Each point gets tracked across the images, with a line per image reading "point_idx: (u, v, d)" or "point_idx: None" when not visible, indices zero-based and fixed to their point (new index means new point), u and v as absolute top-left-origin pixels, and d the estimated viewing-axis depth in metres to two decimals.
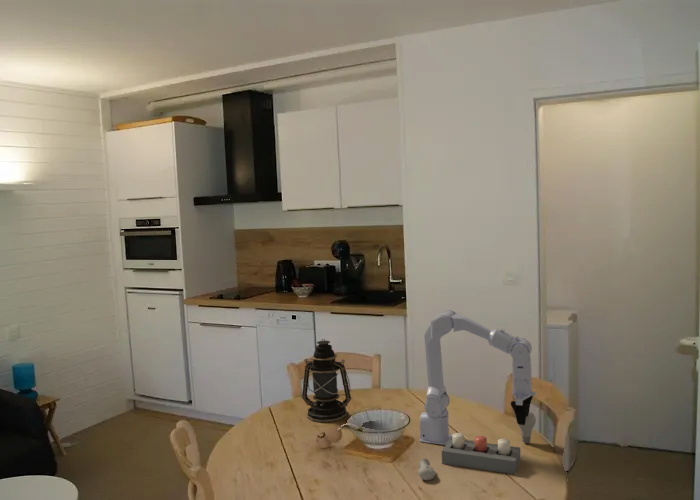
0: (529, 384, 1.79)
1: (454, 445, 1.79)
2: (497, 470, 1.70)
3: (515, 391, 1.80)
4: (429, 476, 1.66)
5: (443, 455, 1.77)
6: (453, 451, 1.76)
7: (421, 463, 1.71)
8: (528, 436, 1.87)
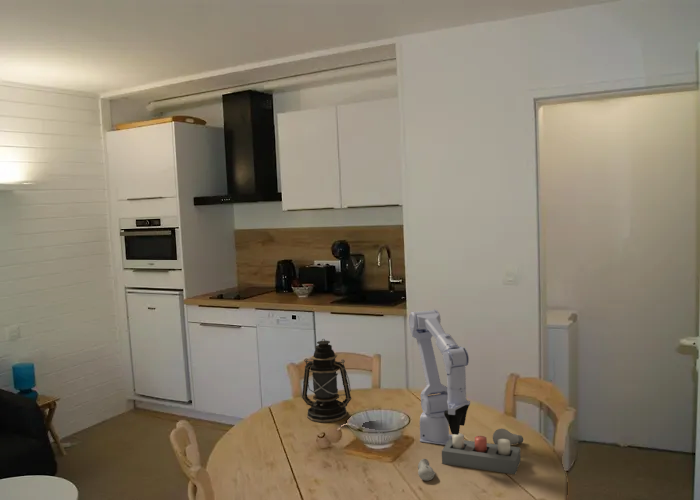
0: (463, 393, 1.76)
1: (454, 445, 1.79)
2: (497, 470, 1.70)
3: (449, 400, 1.77)
4: (428, 477, 1.66)
5: (443, 455, 1.77)
6: (453, 451, 1.76)
7: (421, 463, 1.71)
8: (518, 439, 1.87)
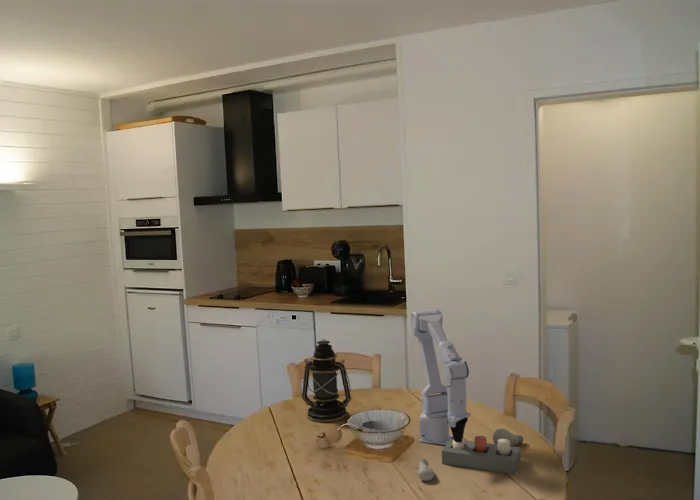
0: (463, 405, 1.76)
1: None
2: (497, 470, 1.70)
3: (449, 412, 1.78)
4: (428, 477, 1.66)
5: (443, 455, 1.77)
6: (453, 451, 1.76)
7: (420, 464, 1.71)
8: (518, 439, 1.87)
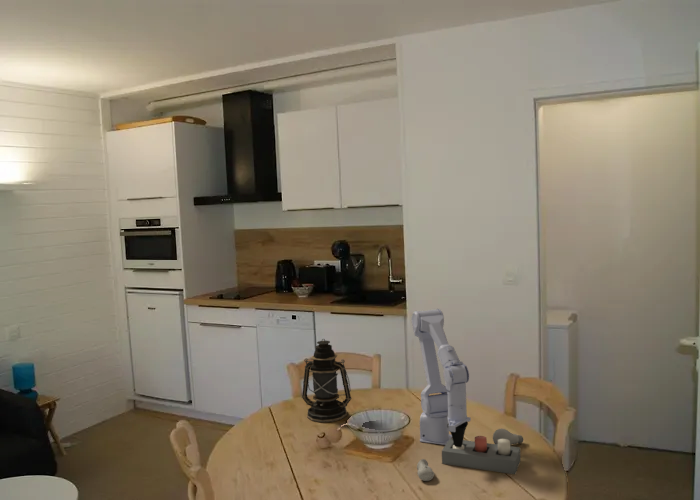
0: (463, 410, 1.76)
1: None
2: (497, 470, 1.70)
3: (450, 417, 1.78)
4: (428, 477, 1.65)
5: (443, 455, 1.77)
6: (453, 451, 1.76)
7: (420, 464, 1.71)
8: (518, 439, 1.87)
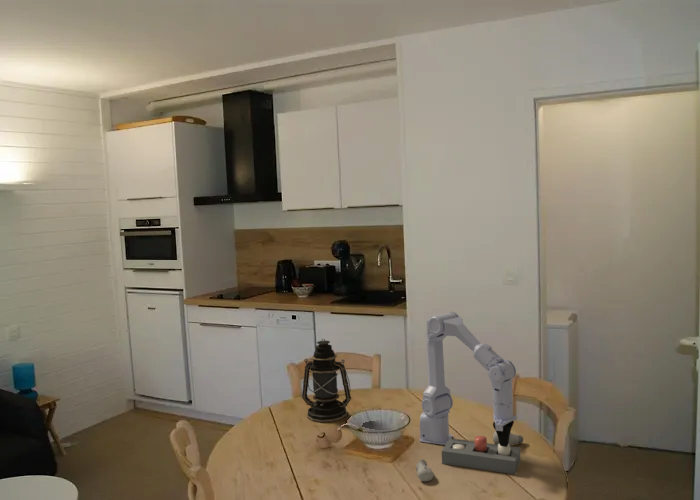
0: (510, 408, 1.70)
1: None
2: (497, 470, 1.70)
3: (495, 415, 1.72)
4: (428, 477, 1.65)
5: (443, 455, 1.77)
6: (453, 451, 1.76)
7: (419, 464, 1.71)
8: (518, 439, 1.87)
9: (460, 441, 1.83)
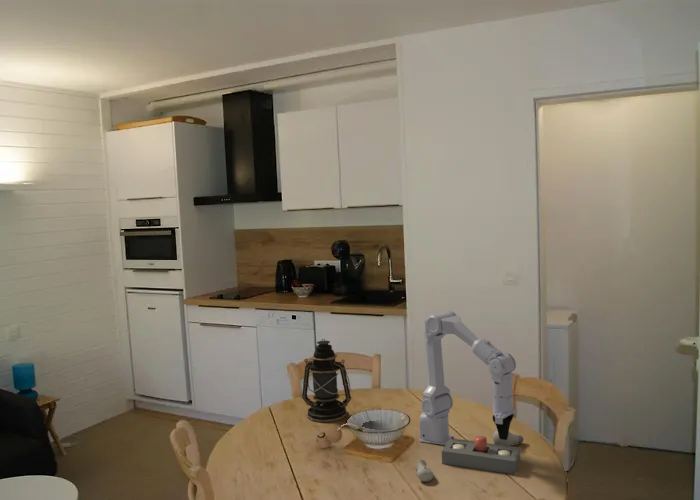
0: (510, 401, 1.70)
1: None
2: (497, 470, 1.70)
3: (495, 408, 1.72)
4: (428, 478, 1.65)
5: (443, 455, 1.77)
6: (453, 451, 1.76)
7: (418, 465, 1.70)
8: (518, 439, 1.87)
9: (460, 441, 1.83)
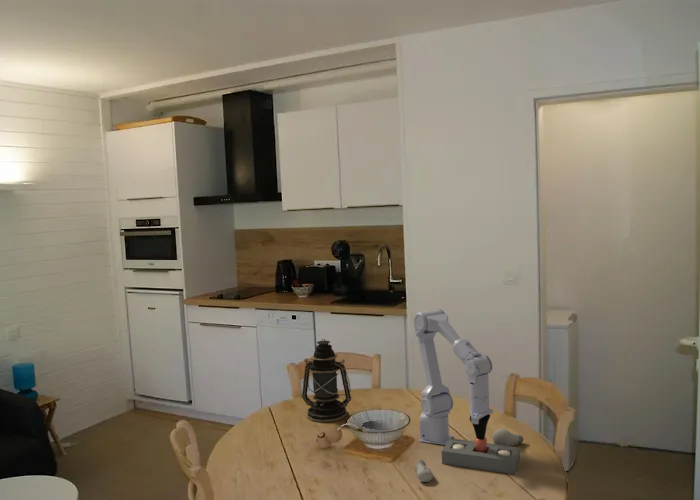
0: (486, 402, 1.73)
1: None
2: (497, 470, 1.70)
3: (472, 409, 1.74)
4: (428, 478, 1.65)
5: (443, 455, 1.77)
6: (453, 451, 1.76)
7: (418, 465, 1.70)
8: (518, 439, 1.87)
9: (460, 441, 1.83)
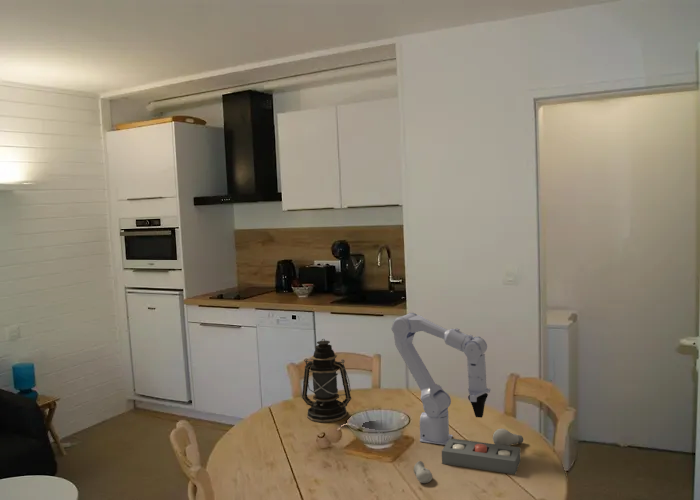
0: (483, 381, 1.83)
1: None
2: (497, 470, 1.70)
3: (470, 388, 1.84)
4: (427, 479, 1.64)
5: (443, 455, 1.77)
6: (453, 451, 1.76)
7: (417, 466, 1.69)
8: (518, 439, 1.87)
9: (460, 441, 1.83)
